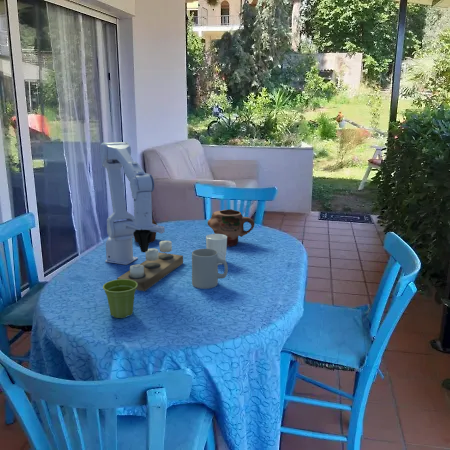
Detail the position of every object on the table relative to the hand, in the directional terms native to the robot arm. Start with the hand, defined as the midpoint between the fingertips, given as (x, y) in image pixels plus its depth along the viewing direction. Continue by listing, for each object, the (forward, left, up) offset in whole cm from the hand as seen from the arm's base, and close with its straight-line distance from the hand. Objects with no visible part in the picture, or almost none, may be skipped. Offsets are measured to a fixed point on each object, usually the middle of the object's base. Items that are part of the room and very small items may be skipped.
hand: (144, 251), depth 150 cm
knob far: (0, +15, -4) cm, 15 cm away
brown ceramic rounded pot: (+13, +49, -10) cm, 51 cm away
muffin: (-23, +39, -10) cm, 46 cm away
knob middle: (0, +5, -4) cm, 6 cm away
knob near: (0, -5, -7) cm, 8 cm away
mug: (+22, +4, -10) cm, 25 cm away
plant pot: (+7, -25, -10) cm, 28 cm away
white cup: (+16, +25, -10) cm, 31 cm away
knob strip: (0, +5, -10) cm, 11 cm away
